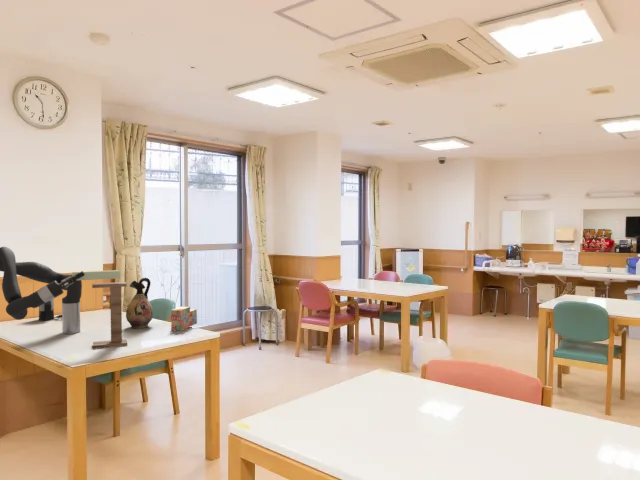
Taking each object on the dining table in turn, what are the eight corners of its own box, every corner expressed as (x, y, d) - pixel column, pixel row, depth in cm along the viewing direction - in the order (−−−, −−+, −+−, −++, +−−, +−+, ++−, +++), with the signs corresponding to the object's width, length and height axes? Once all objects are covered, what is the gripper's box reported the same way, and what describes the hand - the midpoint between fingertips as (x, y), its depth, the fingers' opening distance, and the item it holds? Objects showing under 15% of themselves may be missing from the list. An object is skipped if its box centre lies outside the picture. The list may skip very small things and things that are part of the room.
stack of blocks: (187, 323, 314) (187, 303, 313) (197, 323, 312) (196, 304, 312) (171, 330, 293) (170, 309, 292) (180, 330, 292) (180, 310, 291)
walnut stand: (93, 344, 258) (92, 283, 257) (126, 341, 264) (125, 281, 263) (93, 348, 249) (92, 285, 248) (127, 345, 256) (126, 283, 255)
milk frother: (35, 319, 324) (35, 297, 323) (60, 316, 337) (59, 294, 336) (46, 322, 316) (46, 299, 315) (71, 318, 328) (70, 296, 328)
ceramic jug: (131, 330, 291) (131, 279, 290) (122, 326, 303) (121, 277, 302) (159, 326, 302) (159, 277, 301) (149, 323, 314) (149, 275, 313)
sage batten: (72, 279, 250) (72, 272, 250) (119, 277, 259) (119, 270, 259) (72, 280, 247) (72, 272, 247) (120, 278, 257) (120, 270, 256)
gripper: (44, 287, 237) (79, 267, 243) (46, 283, 250) (79, 265, 256) (53, 300, 239) (87, 280, 245) (55, 296, 252) (87, 277, 258)
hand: (83, 272), depth 251 cm, fingers closed on sage batten, 3 cm apart
